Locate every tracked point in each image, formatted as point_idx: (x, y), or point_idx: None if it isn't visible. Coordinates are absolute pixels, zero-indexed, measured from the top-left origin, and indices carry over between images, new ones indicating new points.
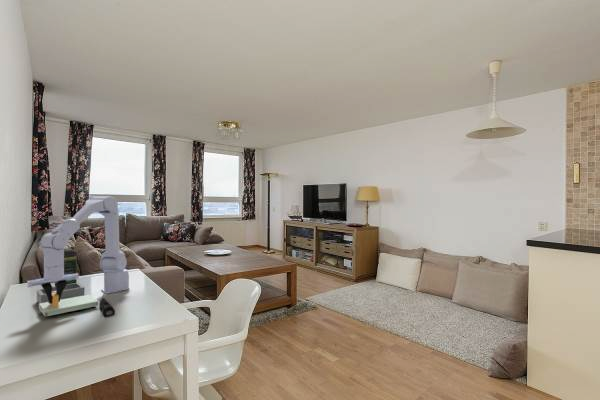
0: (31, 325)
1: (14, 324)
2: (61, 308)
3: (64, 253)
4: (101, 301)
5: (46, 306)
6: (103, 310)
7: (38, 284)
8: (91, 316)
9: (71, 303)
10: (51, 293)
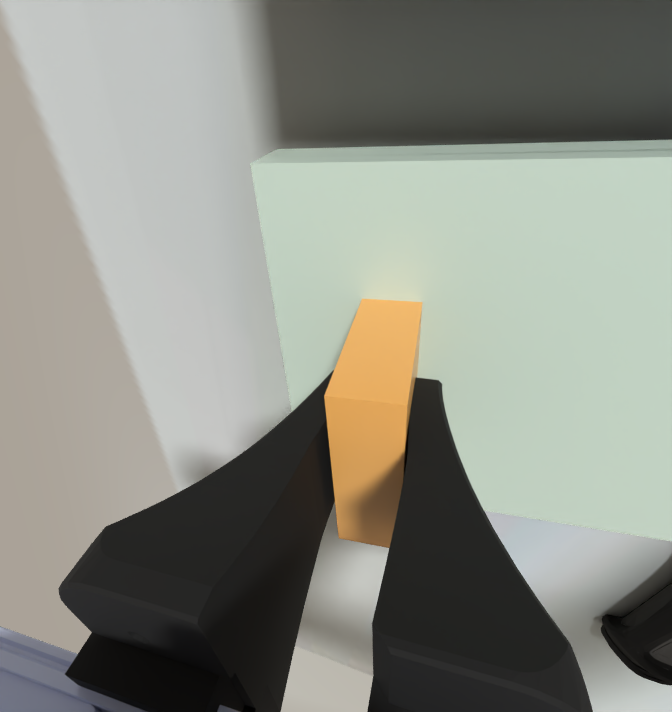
0: (256, 437)
1: (162, 344)
2: None
3: None
4: None
5: (321, 367)
6: (631, 640)
7: (48, 679)
8: (561, 569)
9: (546, 446)
10: (313, 556)
